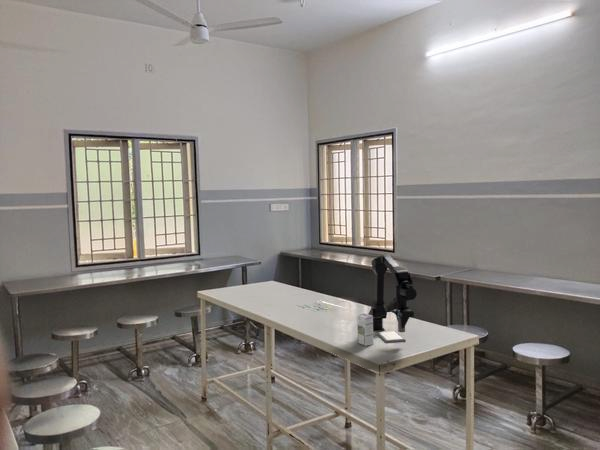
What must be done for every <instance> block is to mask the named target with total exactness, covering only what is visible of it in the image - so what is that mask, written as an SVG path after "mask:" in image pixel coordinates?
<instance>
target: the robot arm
mask: <svg viewBox="0 0 600 450" xmlns="http://www.w3.org/2000/svg"><path fill="white" fill-rule="evenodd" d="M370 263H371V269H372V271H373V273H374V301H372V304H371V306H370V307H371V309H370V310H369V311H368V313H367V314H368V315H372V316H373V332H377V331H378V332H382V331H386V330H385V328H384V326H383V325H384V321H383V320H384V319H387V315H388V313H390V312H392V313H393V314H394V315H395V316H396V317H395V318H396V320H397V322H398V316H399V317H400V321H401V327H402V328H404V327H405V328H406V325H407V322H408V321H409V319H410V318H414V317H415V312H414V311H413V310H412V309H410V306H408V301H412V300H414V299H416V297H417V291H416V289H415V288H414V287H413V282H414V281H413V279H412V277H411V273H410V272H409V271H408V269H407V268H405V267H402V266H400V265H399V264H398V263H397V262H396V261H395V260H394V258H393V257H392V255H391V254H382V255H380V256H378V257H376V258H373V259H372V260H371V262H370ZM388 270H389V272H390V273H391V278H392V279H393V282H394V283H393V285H394V286H395V288H394V291H395V292H394V293H395V294H394V295H395V296H394V297H393V299H392V300H391V301H388V302H385V301H384V300H385V299H384V298H385V297H384V296H385V275H386V272H388ZM398 312H399V315H398Z"/></svg>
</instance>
